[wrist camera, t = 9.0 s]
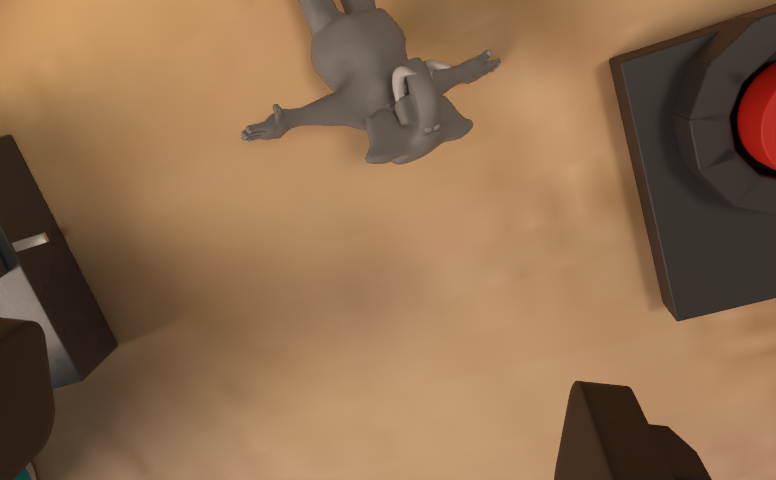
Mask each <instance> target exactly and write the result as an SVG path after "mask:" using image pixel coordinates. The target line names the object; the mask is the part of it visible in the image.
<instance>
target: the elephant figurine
mask: <svg viewBox="0 0 776 480" xmlns="http://www.w3.org/2000/svg"><path fill="white" fill-rule="evenodd" d="M298 1H299V3H300V6H301V8H302V11H303V14H304V16H305V18H306V21H307V23H308V25H309V27H310V29H311V35H312V41H311V59H312V63H313V65H314V68H315V70H316V72H317V73H318V75H319V76H320V77H321V78H322V80H323V81H324V82H325V83H326V84H327V85H328V86H329V87H330V88H331V90H332V91H333V92H334V93H332V94H330V95H327V96H325V97H323V98H321V99H319V100H317V101H315V102H313V103H310V104H308V105H306V106H304V107H301V108H297V109H281V108H280V106H279V105H278V104H274V105H273V110H274V113H273V114H272V115H270V116H269V117H268V119H267V120H266V121H264V122H262V123H259V124H254V125H249V126H247V127H246V130H244V131H243V132H242V140H243V141H244V142H245V141H248V142H252V141H253V140H254V139H262V140H268V139H276V138H281V137H282V136H283V135H284V133H285V132H287V131H288V130H290V129H291V128H294V127H297V126H301V125H324V126H338V125H342V126H350V127H353V128H357V129H360V130H367V134H368V139H369V146H370V148H369V150H368V153H367V155H366V158H365V159H366V162H367V163H372V164H382V163H387V162H389V161H392V162H393V163H395V164H405V163H408V162H411V161H414V160H416V159H419V158H421V157H423V156H425V155H426V154H428V153H429V152H431V151H432V150H433V149H435V148H436V147H437V146H439V145H440V144H442V143H444V142H446V141H452V140H456V139H460V138H462V137H463V136H464V135H465V134H467V133H468V132H469V131H470V130H471V128H472V127H473V122H472V121H471V120H469V119H466V118H464V117H463V116H462V115H461V114H460V113H459V112H458V111H457V110H456V108H455V107H454V106H453V104H452V103H451V102H450V101H449V100H448V99H447V98H446V97H445V96H442V95H443V94H444V93H446V92H447V91H448V90H449V89H451V88H452V87H454V86H455V85H457V84H459V83H463V82H464V83H467V84H469V83H471V82H473V81H475V80H477V79H479V78H480V77H482V76H483V75H487V73H488V72H493V71H495V70H494V69H495V68H498V67H499V64H500V59H496V60H492V61H488V62H486V61H487V59H488V58H489V57H490V55H491V52H490V50H487V51H485V52H484V53H482V54H481V55H479V56H477V57H476V58H474V59H470V60H468V61H466V62H464V63H462V64H460V65H457V66H454V67H451V65H449V64H446V63H443V62H440V61H437V60H428V61H424V62H423V61H422V60H421V59H420V58H413V59H410V60H408V58H407V54H406V50H405V41H406V38H405V36H404V33H403V31H402V29H401V28H400V27H399V25H398V24H397V23H396V22H395V21H394V20H393V18H392V17H391V16H390V15H389V14H388V13H387V12H386V11H385V10H383V9H381V8H377V9H376V7H375V0H340V1H341V4H342V6H343V8H344V11H345V14H343V13H341V12H339V10H338V9H337V7H336V5H335V3H334V1H333V0H298Z"/></svg>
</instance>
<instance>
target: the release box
mask: <svg viewBox="0 0 776 480" xmlns="http://www.w3.org/2000/svg"><path fill="white" fill-rule="evenodd" d="M775 62H776V4H775V5H772V6H768V7H765V8H762V9H759V10H756V11H753V12H750V13H747V14H744V15H741V16H737V17H736V18H734V19H731V20H728V21H725V22H722V23H719V24H716V25H712V26H709V27H706V28H703V29H700V30H697V31H694V32H691V33H688V34H685V35H681V36H678V37H675V38H672V39H669V40H666V41H663V42H660V43H657V44H654V45H650V46H647V47H644V48H641V49H638V50H635V51H632V52H629V53H626V54H622V55H619V56H616V57H613V58H611V59H609V63H610V68H611V72H612V76H613V81H614V85H615V90H616V94H617V99H618V103H619V108H620V112H621V117H622V121H623V126H624V130H625V135H626V139H627V144H628V148H629V153H630V157H631V162H632V166H633V170H634V175H635V179H636V184H637V188H638V193H639V197H640V202H641V206H642V211H643V215H644V220H645V224H646V229H647V233H648V238H649V242H650V247H651V251H652V255H653V260H654V264H655V269H656V273H657V278H658V282H659V287H660V291H661V296H662V300H663V303H664V305H665V306H666V307H667V309H668V310H669V311H670V313H671V314H672V316H673V317H674V318H675V320H676V321H682V320H686V319H690V318H694V317H698V316H703V315H707V314H711V313H715V312H719V311H723V310H727V309H732V308H736V307H740V306H744V305H748V304H752V303H756V302H760V301H765V300H769V299H773V298H776V170H774V169H772V168H770V167H768V166H766V165H764V164H762V163H760V162H758V161H757V160H755V159H754V158H753V157H752V156H751V155H750V154H749V153H748V152H747V151H746V150H745V148H744V146H743V145H742V143H741V140H740V138H739V134H738V128H737V115H738V109H739V106H740V103H741V100H742V98H743V95H744V93H745V92H746V90H747V88H748V87H749V85H750V84H751V83H752V82H753V80H754V79H755V78H756V77H757V76H758V75H759V74H760V73H761V72H762V71H764V70H765V69H766V68H767V67H769V66H770V65H772V64H773V63H775Z"/></svg>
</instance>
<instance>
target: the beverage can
mask: <svg viewBox="0 0 776 480" xmlns="http://www.w3.org/2000/svg"><path fill="white" fill-rule="evenodd" d="M14 480H36V474H35V470H34V467H33V465H32V463H31V462H30V463H29V464H28V465H27V466H26V467H25V468H24V469H23V470H22V471H21V472H20V473H19V474H18V475H17V476H16V478H15V479H14Z"/></svg>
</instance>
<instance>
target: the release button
mask: <svg viewBox="0 0 776 480" xmlns="http://www.w3.org/2000/svg"><path fill="white" fill-rule="evenodd" d="M737 128H738V134H739V138H740V140H741V143H742V145H743V146H744V148H745V150H746V151H747V152H748V153H749V154H750V155H751V156H752V157H753V158H754V159H755V160H757V161H758V162H760V163H762V164H764V165H766V166H768V167H770V168H772V169H774V170H776V62H775V63H773V64H772V65H770V66H769V67H767V68H766V69H765V70H764V71H762V72H761V73H760V74H759V75H758V76H757V77H756V78H755V79H754V80H753V82H752V83H751V84H750V85H749V87H748V88H747V90H746V92H745V93H744V95H743V98H742V100H741V103H740V106H739V109H738V115H737Z"/></svg>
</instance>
